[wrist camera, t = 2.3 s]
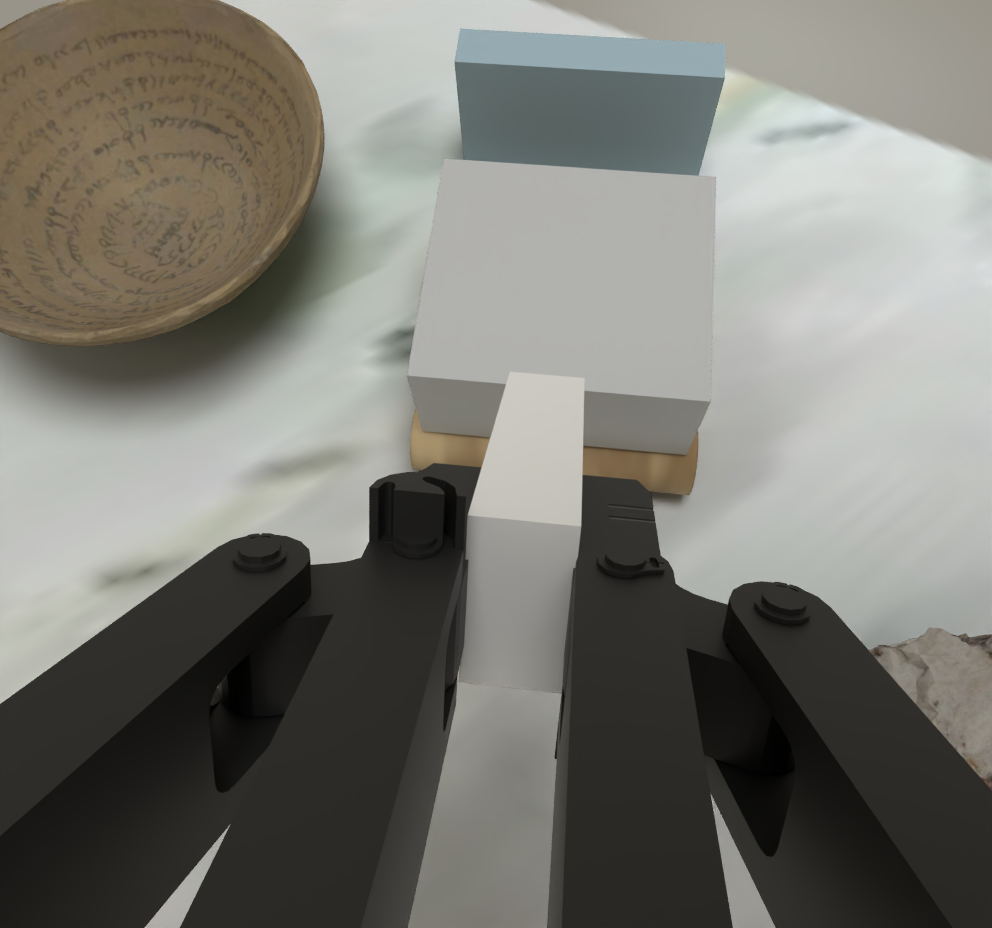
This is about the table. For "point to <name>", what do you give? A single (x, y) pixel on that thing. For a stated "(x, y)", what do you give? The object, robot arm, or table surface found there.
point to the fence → (587, 100)
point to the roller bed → (597, 461)
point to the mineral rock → (949, 688)
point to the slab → (569, 298)
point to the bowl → (145, 164)
